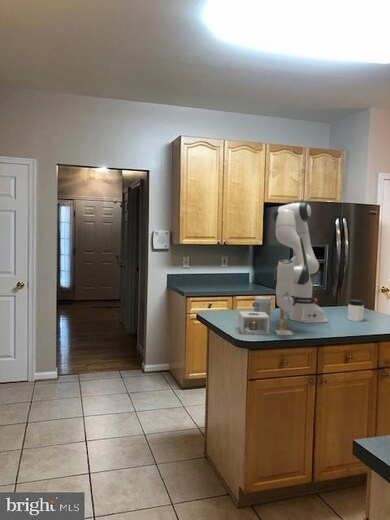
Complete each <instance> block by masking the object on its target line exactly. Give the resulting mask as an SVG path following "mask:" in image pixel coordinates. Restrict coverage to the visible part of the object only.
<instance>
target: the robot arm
mask: <svg viewBox="0 0 390 520" xmlns="http://www.w3.org/2000/svg"><path fill="white" fill-rule="evenodd" d="M311 215H312V209H311V205H310V204H309V203H308V202H307V201H300V202H292V203H289V204H285V205H284V204H283V205H280V206H277V207H274V209H273V211H272V218H273V221H274V222H275V237H276V239H277V242H279V243H280V244H282V245H284V246H286V247H289V248H291V249H292V250H293V251H294V256H293V257H291V259H279V260H278V263H277V264H278V265H277V266H276V267H275V268H273V270H274V272H273V273H274V275H273V279H274V281H276V287H275V294H276V297H275V298H276V305H277V306H278V308H279V309H280V308H281V309H282V310H283V319H287V318H288V313H290V316H289V320H292V321H295V322H301V323H304V324H305V323H307V324H308V323H310V324H311V323H315V324H316V323H328V322H329V319H328V318H327V317H326V316H325V312H324V310H323V308H321V307H320V306H319V305H317V303H316V302H318V298H315V297H313V282H312V278H311V275H314V274H315V273H317V272H318V270H319V268H320V262H319V261H318V259H317V258H316V255H315V253H314V250H313V247H312V243H311V237H310V231H309V227H308V220H309V219H310V218H311Z"/></svg>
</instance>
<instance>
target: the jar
mask: <svg viewBox="0 0 390 520" xmlns="http://www.w3.org/2000/svg"><path fill="white" fill-rule="evenodd" d="M347 306H348V307H347V309H348V310H347V320H350V321H351V322H352V321H353V322H363V321H364V313H365V312H364V311H365V305H364V301H363V300H362V299H349V301H348V305H347Z"/></svg>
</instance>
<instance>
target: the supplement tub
mask: <svg viewBox="0 0 390 520" xmlns="http://www.w3.org/2000/svg"><path fill="white" fill-rule="evenodd" d="M271 310H272V297H269V296H264V295H263V296H261V295H259V296H255V297H254V304H253V312H265V313H266V314H267V315H268V316H269V317H270V318H271V313H272V312H271ZM269 324H271V319H270V320H269Z"/></svg>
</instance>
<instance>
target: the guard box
mask: <svg viewBox="0 0 390 520" xmlns="http://www.w3.org/2000/svg"><path fill="white" fill-rule="evenodd" d="M269 320H270V321H271V316H270V317H269V316H268V315H267V314H266V313H265V312H254V311H249V310H246V311H243V310H241V311H239V312H238V328H239V331H240V332H241V334H248V335H249V334H250V335H251V334H252V335H253V334H254V335H269V334H270V323H269ZM250 321H257V330H250Z"/></svg>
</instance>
